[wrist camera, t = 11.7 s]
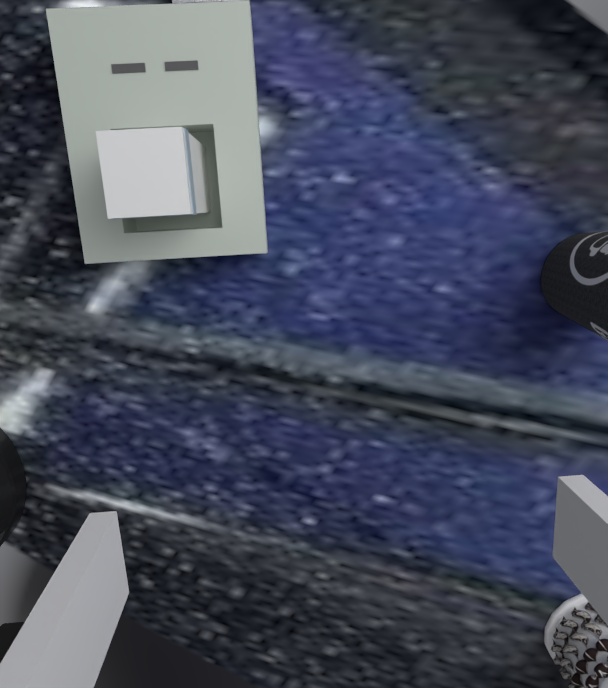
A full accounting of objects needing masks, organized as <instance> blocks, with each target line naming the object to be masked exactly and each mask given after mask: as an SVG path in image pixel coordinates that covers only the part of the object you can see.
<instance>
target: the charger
mask: <svg viewBox="0 0 608 688" xmlns="http://www.w3.org/2000/svg"><path fill="white" fill-rule="evenodd" d="M96 138H97V145H98V152H99V159H100V166H101V174H102V181H103V188H104V195H105V202H106V209H107V217H108V219H127V218H144V217H162V216H180V215H196V214H197V213H206V212H211V206H210V195H209V184H208V174H207V163H206V152H205V146H203V145H202V144H201V143H200V142H199V141H198V140H197V139H195V138H194V137H193V136H192V135H191V134H190V133H189V132H188V130H187V129H186V128H183V127H165V128H145V129H125V130H105V131H96Z"/></svg>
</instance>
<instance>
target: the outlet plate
mask: <svg viewBox="0 0 608 688" xmlns="http://www.w3.org/2000/svg"><path fill="white" fill-rule="evenodd" d="M46 13H47V19H48V26H49V32H50V39H51V45H52V52H53V59H54V65H55V72H56V78H57V85H58V91H59V98H60V104H61V111H62V117H63V124H64V131H65V137H66V144H67V150H68V157H69V163H70V170H71V176H72V183H73V189H74V196H75V203H76V209H77V216H78V222H79V229H80V235H81V242H82V248H83V255H84V261H85V264H90V263H107V262H124V261H140V260H157V259H174V258H191V257H207V256H224V255H241V254H258V253H267V250H268V246H267V232H266V218H265V203H264V189H263V175H262V161H261V146H260V132H259V118H258V104H257V89H256V75H255V61H254V47H253V32H252V20H251V11H250V2H249V1H225V2H201V3H177V4H152V5H128V6H104V7H80V8H55V9H46ZM165 127H183V128H186V129H187V130H188V132H189V133H190V134H191V135H192V136H193V137H194V138H195V139H197V140H198V141H199V142H200V143H201V144H202V145H203V146H205V152H206V163H207V174H208V184H209V195H210V206H211V212H206V213H197V214H196V215H180V216H162V217H144V218H127V219H108V217H107V209H106V202H105V195H104V188H103V181H102V174H101V166H100V159H99V152H98V145H97V138H96V131H105V130H125V129H145V128H165Z"/></svg>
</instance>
